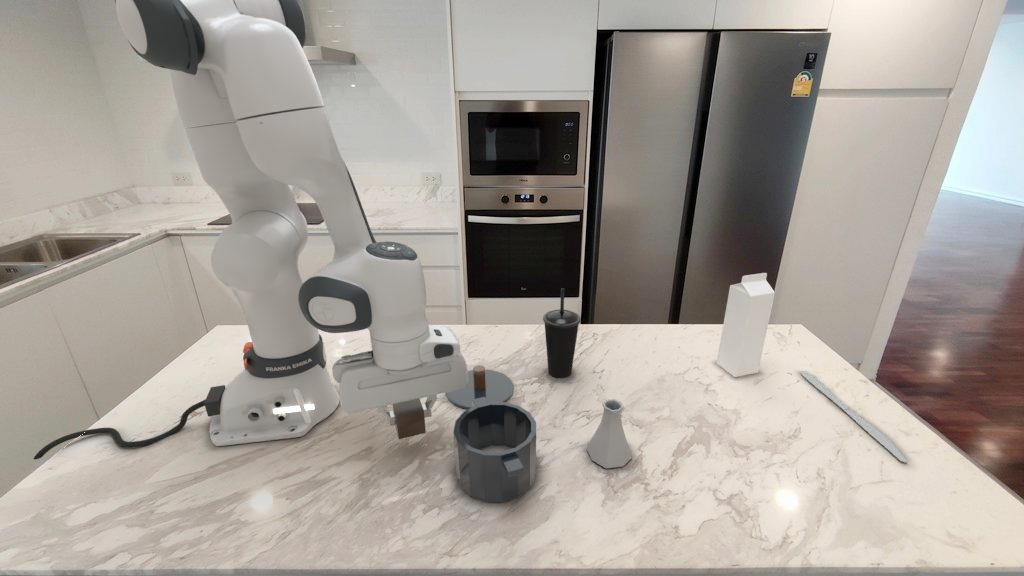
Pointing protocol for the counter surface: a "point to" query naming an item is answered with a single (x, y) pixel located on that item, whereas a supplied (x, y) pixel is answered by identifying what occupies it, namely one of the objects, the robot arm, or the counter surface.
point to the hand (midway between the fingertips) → (409, 419)
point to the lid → (482, 388)
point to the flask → (610, 438)
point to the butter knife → (856, 418)
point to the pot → (495, 471)
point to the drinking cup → (561, 339)
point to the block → (409, 418)
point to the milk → (745, 325)
